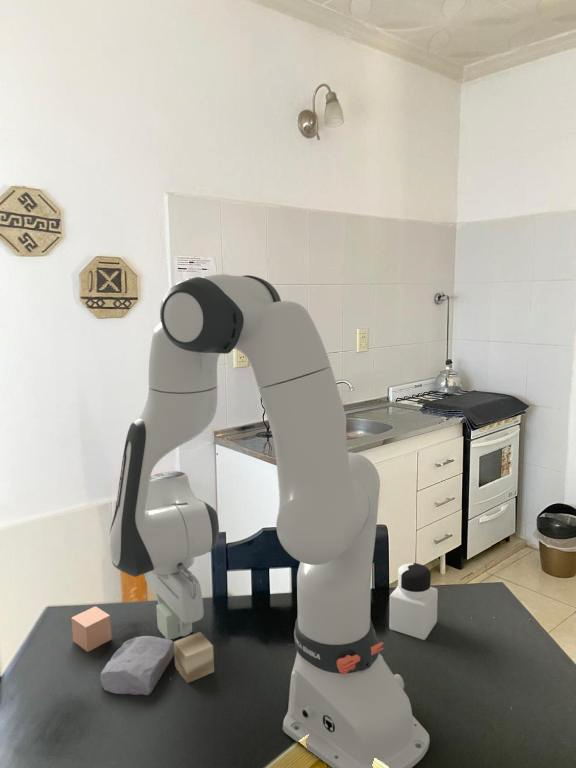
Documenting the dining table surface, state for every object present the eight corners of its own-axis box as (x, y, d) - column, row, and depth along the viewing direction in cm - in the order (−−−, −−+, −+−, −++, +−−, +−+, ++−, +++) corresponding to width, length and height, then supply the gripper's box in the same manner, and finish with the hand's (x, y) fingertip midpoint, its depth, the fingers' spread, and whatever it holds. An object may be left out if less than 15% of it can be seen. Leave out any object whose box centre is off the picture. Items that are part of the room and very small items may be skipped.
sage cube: (192, 631, 111) (191, 608, 110) (167, 641, 108) (166, 616, 107) (181, 620, 115) (180, 596, 114) (157, 628, 112) (156, 604, 111)
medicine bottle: (437, 622, 112) (438, 564, 110) (425, 641, 106) (426, 580, 104) (402, 611, 116) (403, 556, 114) (388, 629, 110) (389, 571, 108)
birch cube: (214, 672, 99) (213, 645, 98) (187, 683, 96) (185, 656, 95) (201, 657, 103) (200, 631, 102) (175, 667, 100) (173, 641, 100)
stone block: (98, 702, 95) (153, 698, 93) (91, 675, 94) (146, 670, 92) (130, 659, 107) (180, 654, 104) (124, 635, 106) (174, 629, 104)
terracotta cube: (111, 639, 109) (109, 615, 108) (87, 652, 105) (85, 627, 104) (97, 629, 112) (95, 606, 111) (73, 642, 108) (71, 617, 107)
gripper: (210, 571, 102) (213, 642, 104) (165, 532, 119) (168, 594, 121) (177, 582, 99) (181, 655, 101) (135, 540, 115) (139, 604, 117)
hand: (174, 622), depth 111 cm, fingers open, 8 cm apart
